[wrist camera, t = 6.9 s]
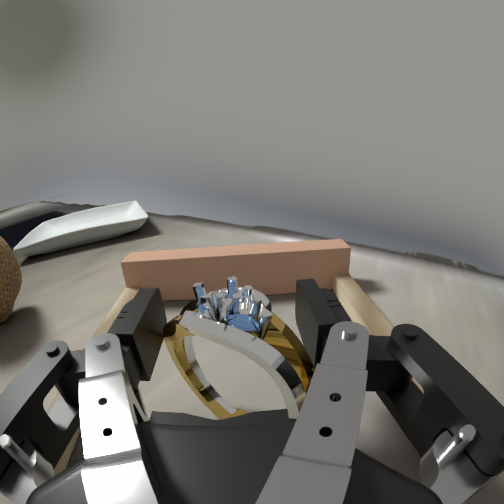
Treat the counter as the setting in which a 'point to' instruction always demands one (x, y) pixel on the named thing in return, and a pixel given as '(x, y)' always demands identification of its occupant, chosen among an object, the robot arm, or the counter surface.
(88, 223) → the square plate
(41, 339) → the counter surface
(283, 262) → the bar
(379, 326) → the birch track
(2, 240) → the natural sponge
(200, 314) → the ring
